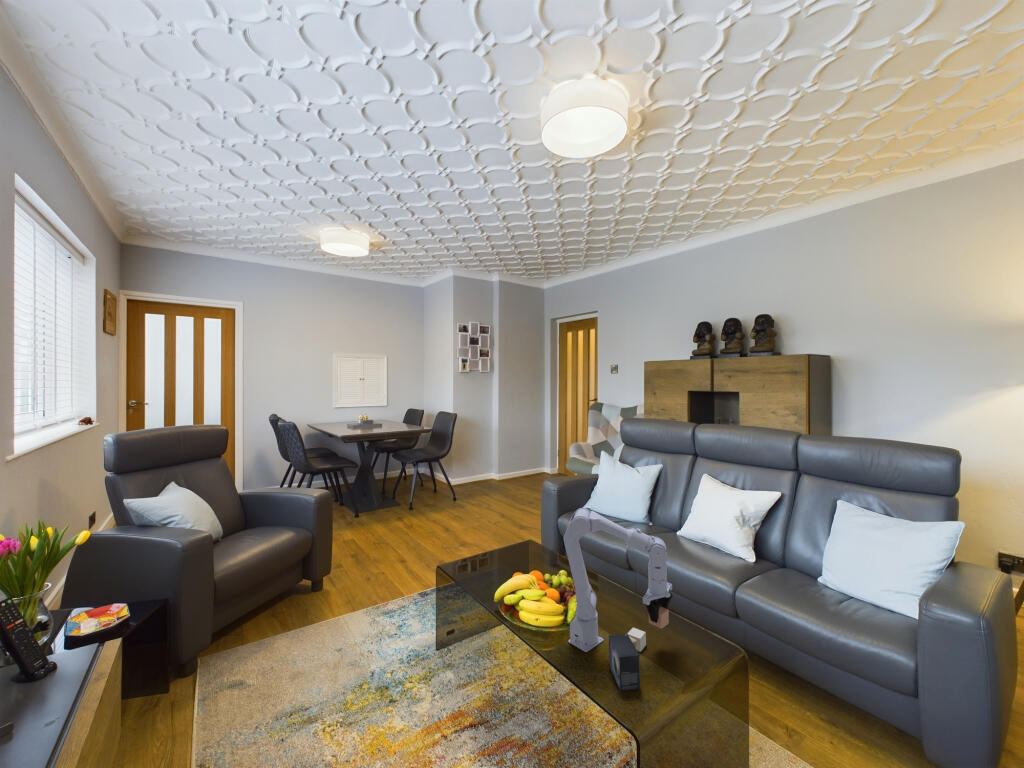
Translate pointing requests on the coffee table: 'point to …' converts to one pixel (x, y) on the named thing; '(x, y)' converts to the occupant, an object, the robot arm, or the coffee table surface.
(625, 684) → the small box
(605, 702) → the coffee table surface
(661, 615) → the terracotta cube
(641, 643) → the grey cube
